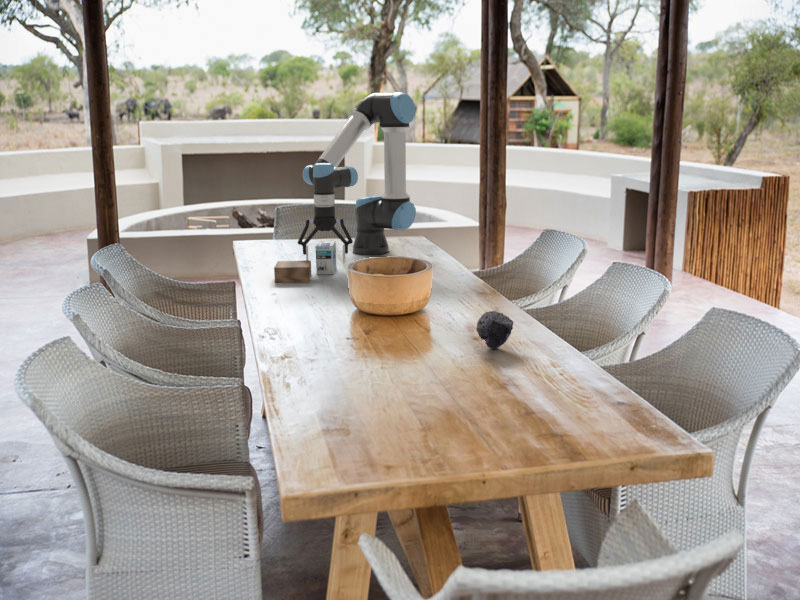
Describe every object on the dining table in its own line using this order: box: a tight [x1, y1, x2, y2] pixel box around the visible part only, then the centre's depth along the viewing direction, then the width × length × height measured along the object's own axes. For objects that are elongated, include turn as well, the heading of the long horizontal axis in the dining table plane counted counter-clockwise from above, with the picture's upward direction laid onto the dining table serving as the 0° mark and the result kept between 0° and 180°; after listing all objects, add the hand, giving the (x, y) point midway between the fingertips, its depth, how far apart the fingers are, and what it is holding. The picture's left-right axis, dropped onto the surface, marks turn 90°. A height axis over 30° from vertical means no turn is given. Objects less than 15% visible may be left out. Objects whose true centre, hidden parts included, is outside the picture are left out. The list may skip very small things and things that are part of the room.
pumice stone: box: [475, 310, 514, 350], centre depth 214 cm, size 10×8×10 cm
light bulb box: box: [314, 240, 337, 275], centre depth 310 cm, size 11×7×11 cm, turn 179°
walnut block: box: [273, 259, 312, 284], centre depth 298 cm, size 12×12×6 cm
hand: (325, 262), depth 310 cm, fingers open, 13 cm apart
